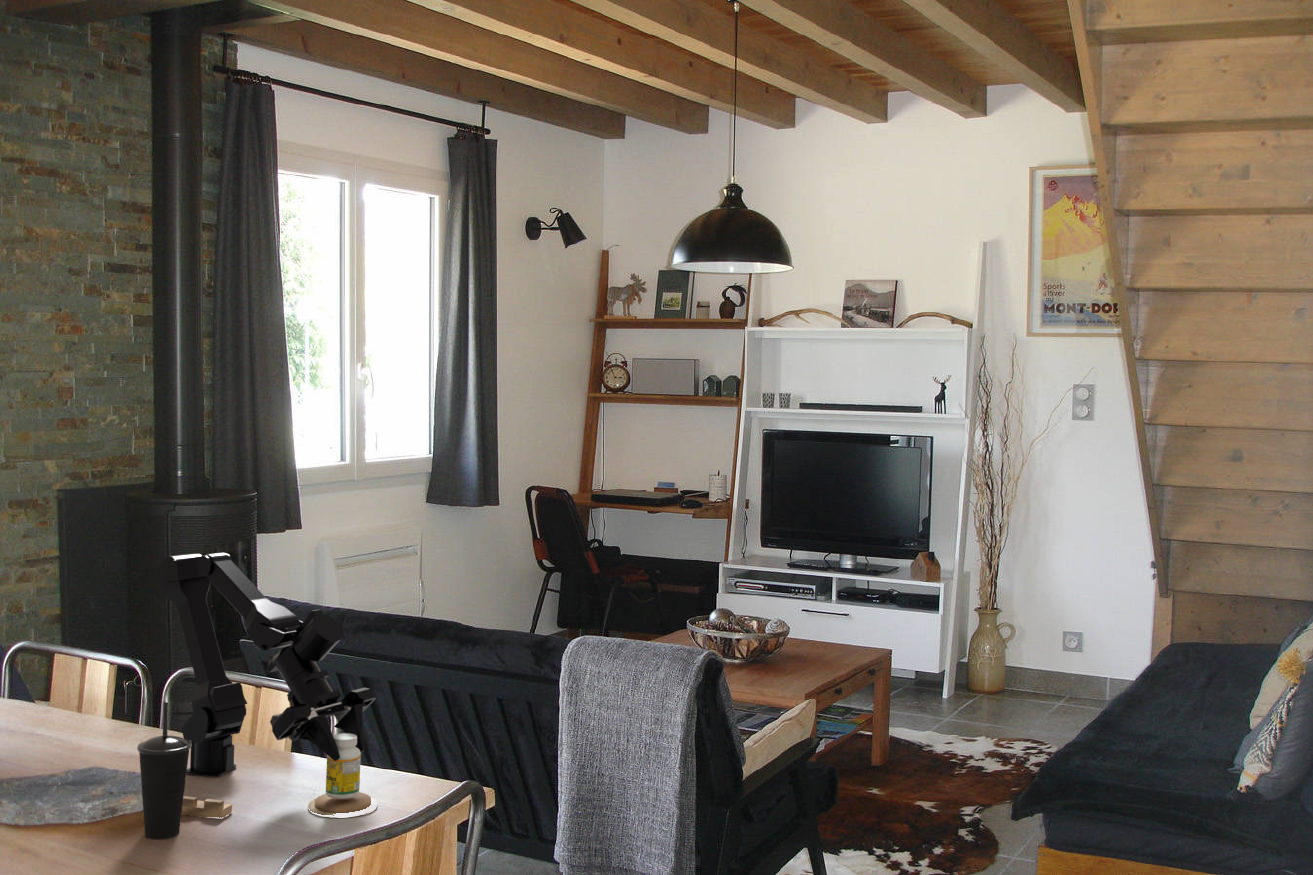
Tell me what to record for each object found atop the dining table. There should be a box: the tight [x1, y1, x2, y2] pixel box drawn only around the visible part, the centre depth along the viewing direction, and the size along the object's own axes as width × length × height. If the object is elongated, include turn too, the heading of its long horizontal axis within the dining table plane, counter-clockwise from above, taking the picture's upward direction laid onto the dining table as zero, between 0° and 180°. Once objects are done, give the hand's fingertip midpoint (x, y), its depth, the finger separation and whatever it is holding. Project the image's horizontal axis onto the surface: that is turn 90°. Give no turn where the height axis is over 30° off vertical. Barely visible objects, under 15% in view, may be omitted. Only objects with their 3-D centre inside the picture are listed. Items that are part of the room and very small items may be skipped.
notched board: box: [181, 795, 233, 818], centre depth 197 cm, size 8×3×3 cm, turn 78°
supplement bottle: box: [325, 732, 362, 799], centre depth 203 cm, size 5×5×10 cm
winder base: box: [307, 791, 372, 816], centre depth 203 cm, size 11×11×1 cm
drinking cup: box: [136, 701, 192, 840], centre depth 188 cm, size 8×8×20 cm
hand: (350, 755), depth 202 cm, fingers closed on supplement bottle, 5 cm apart
